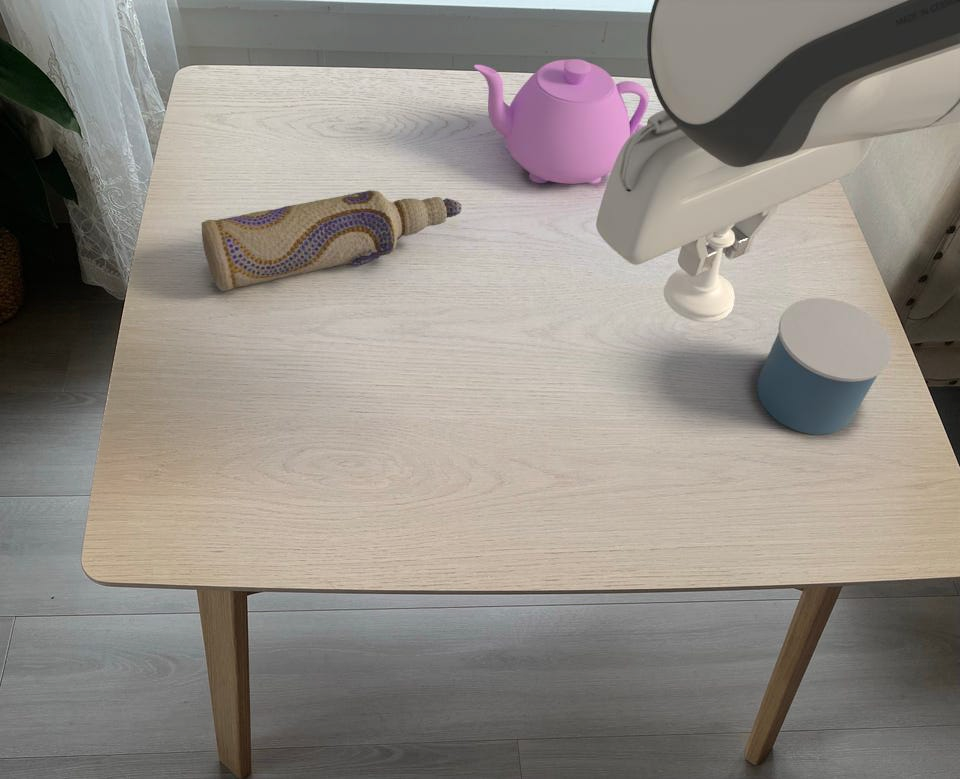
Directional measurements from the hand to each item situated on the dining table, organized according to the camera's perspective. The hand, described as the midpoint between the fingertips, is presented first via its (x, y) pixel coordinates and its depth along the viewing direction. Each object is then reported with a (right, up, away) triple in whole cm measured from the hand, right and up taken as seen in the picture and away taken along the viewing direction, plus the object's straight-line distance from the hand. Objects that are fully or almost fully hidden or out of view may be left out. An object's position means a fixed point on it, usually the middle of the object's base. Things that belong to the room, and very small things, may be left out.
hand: (712, 259), depth 64 cm
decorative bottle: (-30, +4, +31) cm, 44 cm away
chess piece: (0, -2, +3) cm, 4 cm away
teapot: (-7, +17, +45) cm, 49 cm away
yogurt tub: (+14, -9, +24) cm, 29 cm away
